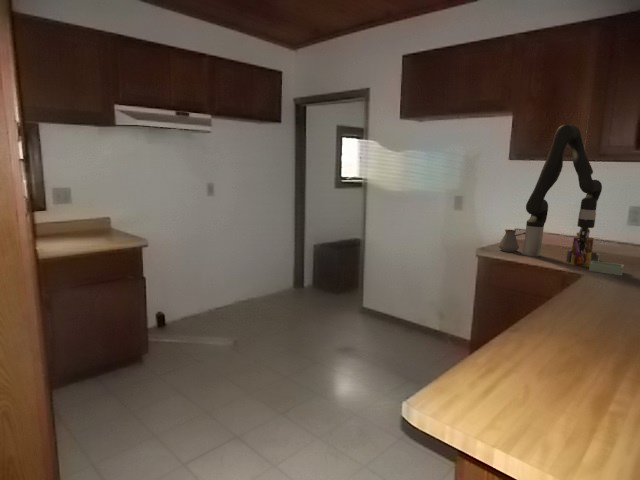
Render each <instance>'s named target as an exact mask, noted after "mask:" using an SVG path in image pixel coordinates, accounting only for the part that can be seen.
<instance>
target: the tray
mask: <svg viewBox="0 0 640 480" xmlns="http://www.w3.org/2000/svg"><path fill="white" fill-rule="evenodd" d="M624 265H625V264H620V263H613V262H606V261H600V260H599V261H593V260H592V261H591V262H590V266H589V267H588V271H589V272H593V273H601V274H608V275H613V274H614V276H622V275H623V271H624V268H625V267H624Z"/></svg>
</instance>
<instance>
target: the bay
mask: <svg viewBox="0 0 640 480" xmlns="http://www.w3.org/2000/svg"><path fill="white" fill-rule="evenodd" d="M566 254H567V255H566V261H567V263H569V262H571V257H572V249H571V248H570V249H568V250H567V253H566ZM600 255H601V252H593V251H592V256H591V261H592V260H593V261H600Z"/></svg>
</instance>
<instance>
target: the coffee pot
mask: <svg viewBox="0 0 640 480" xmlns="http://www.w3.org/2000/svg"><path fill="white" fill-rule="evenodd" d="M504 231H505V233H504V234H503V237H502V239H501V240H500V242H499V244H498V248H499V249H500V250H501V251H502V252H505V253H515V252H516V251H518V250H519V249H520V246H519V244H518V240H517V237H518V236H521V235H525V232H526V231H524V232H521V233H518V234H516V232H517V230H515V229H504Z"/></svg>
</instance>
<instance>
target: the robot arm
mask: <svg viewBox="0 0 640 480" xmlns="http://www.w3.org/2000/svg"><path fill="white" fill-rule="evenodd" d="M567 145H568V146H569V148H570V150H571V153H572V164H573V167H574V170H575V172H576V175H577V179H578V185H579V188H580V190H581V192H583V193H585V194H586V195H585V197H583V198H582V199H581V202H580V208H579V212H578V218H577V219H578V220H577V227H578V228H581V227H582V230H581V231H580V230H579V231H580V241H579V242H580V247H579V250H582V251H583V250H584V247H585V243H586V240H587V238H588V237H589V238H590V232H591V231H590V229H594V228H595V224H596V216H597V207H598V205H597V204H598V201H599V199H600V196H601V193H602V190H603V185H602V182H601V181H600V180H598V179H593V177H592V175H593V174H594V170H593V168H592V165H591V162H590V161H589V158H588V156H587V154H586V153H587V152H586V149H585V147H584V146H585V145H584V142H583V138H582V134H581V129H580V128H579V127H577V126H576V125H572V124H562V125H560V126H559V127H558V128H557V129H556V131H555V133H554V136H553V141H552V144H551V147H550V149H549V152H548V154H547V157H546V159H545V162H544V165H543V167H542V169H541V171H540V174H539V177H538V179H537V182H536V184H535V186H534V189H533V191H532V193H531V195H530V197H529V198H528V200H527V202H526V204H525V211H526V212H527V213H528V214H529V215H530V216H529V219H527V220H526V224H525V231H524V232H525V234H524V238H523V243H522V251H521V255H524V256H527V257H541V253H542V245H543V237H544V228H545V224H546V222H547V217H548V212H549V203H548V202H547V200H546V199H545V197H546V196H547V194H548V192H549V190H551V188H552V187H553V186H554V185H555V183H556V182H557V181H558V179H559V177H560V175H561V172H562V170H563V166H564V153H565V149H566V148H567ZM582 239H584V240H582Z"/></svg>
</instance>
